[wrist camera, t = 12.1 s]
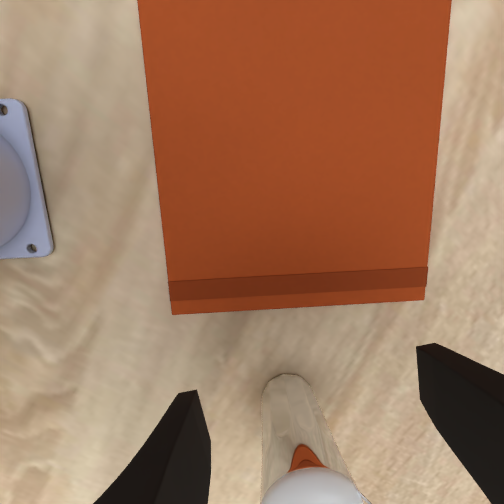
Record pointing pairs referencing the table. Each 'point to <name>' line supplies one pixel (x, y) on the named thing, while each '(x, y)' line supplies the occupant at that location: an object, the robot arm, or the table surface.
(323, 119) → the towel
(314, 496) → the milkshake
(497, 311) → the table surface
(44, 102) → the table surface
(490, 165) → the table surface
